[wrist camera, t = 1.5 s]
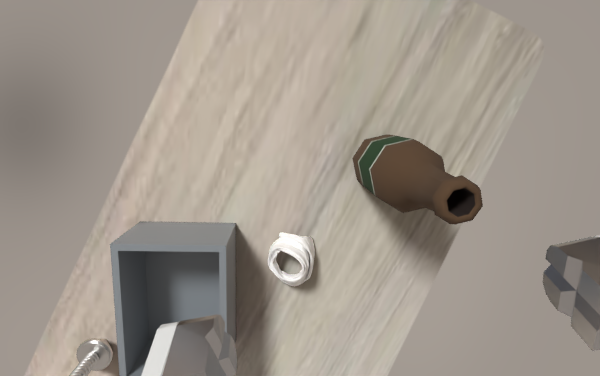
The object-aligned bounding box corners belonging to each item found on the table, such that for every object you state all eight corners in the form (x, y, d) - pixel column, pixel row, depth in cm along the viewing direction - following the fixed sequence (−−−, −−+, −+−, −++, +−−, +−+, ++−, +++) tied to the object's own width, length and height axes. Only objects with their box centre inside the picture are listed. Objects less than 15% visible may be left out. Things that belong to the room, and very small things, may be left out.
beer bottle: (339, 155, 50) (389, 191, 27) (387, 122, 50) (481, 128, 26) (371, 200, 52) (444, 272, 28) (417, 168, 51) (532, 214, 28)
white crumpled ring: (313, 278, 55) (320, 295, 50) (268, 282, 54) (270, 300, 49) (313, 227, 53) (319, 241, 48) (265, 230, 52) (267, 244, 47)
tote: (235, 340, 55) (227, 383, 46) (146, 340, 54) (120, 383, 45) (235, 223, 51) (226, 245, 43) (140, 221, 51) (110, 243, 42)
